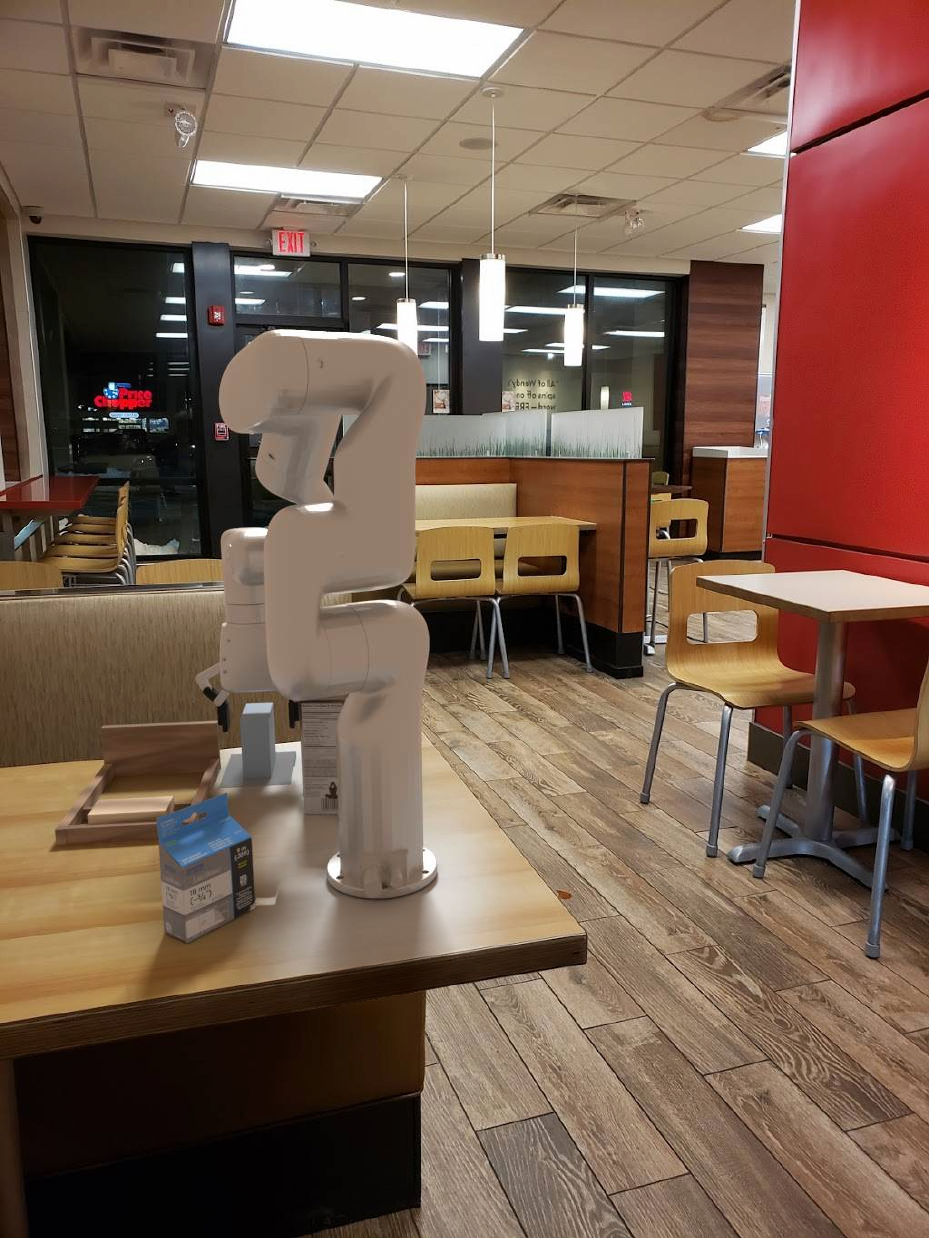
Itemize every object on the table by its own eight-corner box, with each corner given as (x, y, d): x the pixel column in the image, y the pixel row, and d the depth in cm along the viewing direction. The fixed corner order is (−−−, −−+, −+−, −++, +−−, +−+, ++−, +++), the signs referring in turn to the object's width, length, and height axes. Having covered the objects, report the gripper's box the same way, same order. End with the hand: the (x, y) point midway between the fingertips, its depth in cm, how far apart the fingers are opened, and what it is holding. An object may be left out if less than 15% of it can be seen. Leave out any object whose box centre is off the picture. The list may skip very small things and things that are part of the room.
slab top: (166, 821, 114) (165, 810, 113) (88, 826, 113) (87, 815, 112) (174, 806, 118) (173, 795, 118) (99, 810, 117) (98, 799, 117)
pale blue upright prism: (271, 777, 132) (268, 718, 131) (243, 778, 132) (240, 719, 130) (275, 758, 140) (273, 702, 138) (249, 759, 140) (246, 703, 138)
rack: (194, 840, 113) (190, 779, 111) (56, 848, 111) (50, 787, 109) (221, 771, 136) (217, 720, 135) (107, 777, 134) (103, 725, 133)
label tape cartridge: (186, 946, 90) (178, 829, 87) (162, 933, 92) (154, 819, 89) (257, 909, 96) (251, 799, 94) (233, 898, 99) (226, 791, 96)
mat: (290, 787, 130) (290, 783, 130) (219, 791, 129) (219, 787, 129) (296, 754, 144) (296, 751, 143) (231, 757, 142) (231, 754, 142)
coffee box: (315, 789, 129) (310, 680, 126) (360, 789, 129) (356, 680, 126) (302, 815, 120) (297, 698, 117) (350, 815, 120) (347, 698, 117)
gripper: (314, 607, 136) (319, 717, 139) (195, 612, 134) (203, 724, 137) (312, 615, 129) (318, 731, 131) (186, 620, 127) (195, 738, 129)
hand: (259, 727), depth 134 cm, fingers open, 9 cm apart
